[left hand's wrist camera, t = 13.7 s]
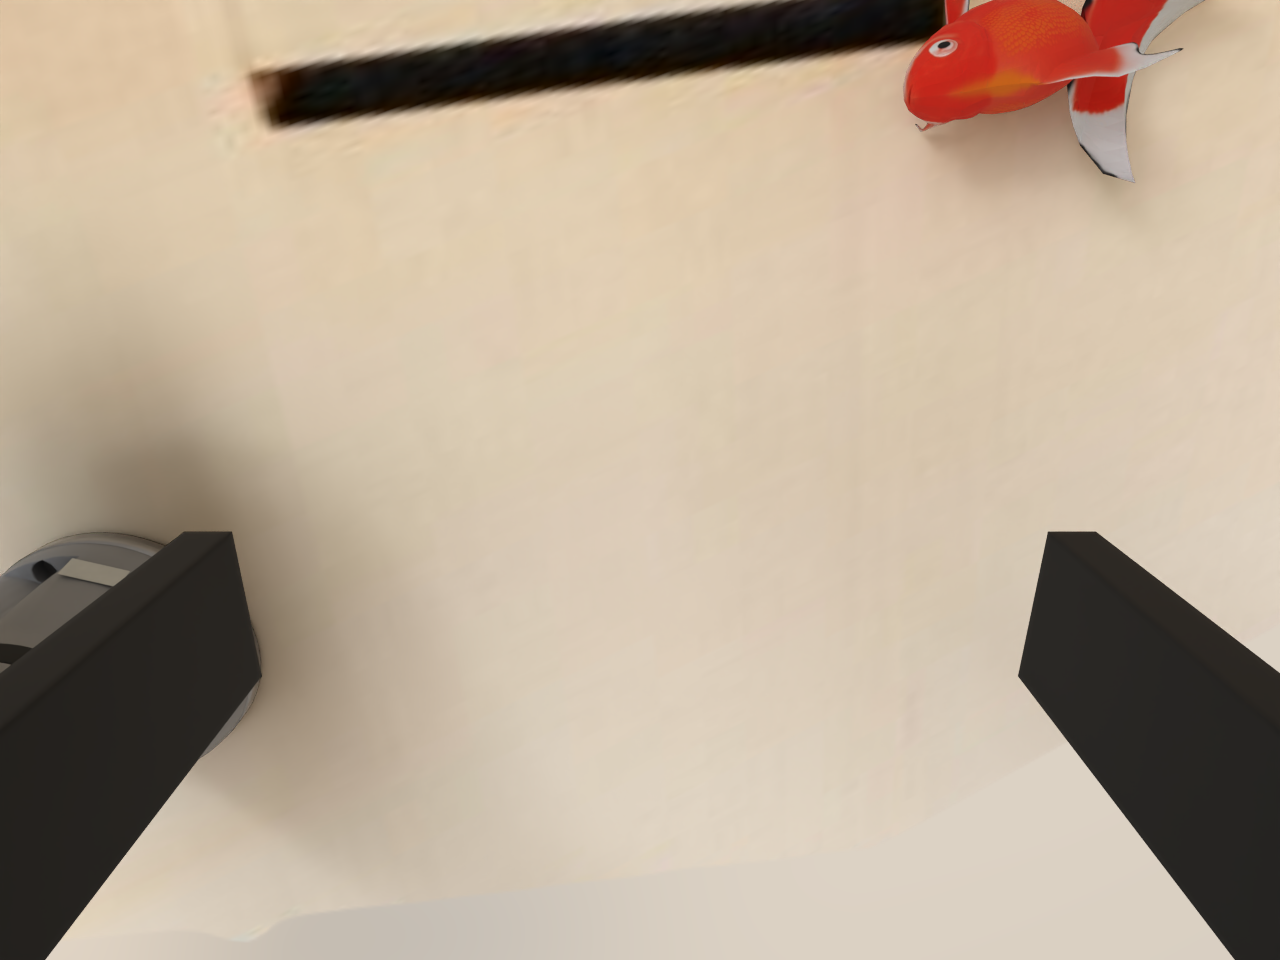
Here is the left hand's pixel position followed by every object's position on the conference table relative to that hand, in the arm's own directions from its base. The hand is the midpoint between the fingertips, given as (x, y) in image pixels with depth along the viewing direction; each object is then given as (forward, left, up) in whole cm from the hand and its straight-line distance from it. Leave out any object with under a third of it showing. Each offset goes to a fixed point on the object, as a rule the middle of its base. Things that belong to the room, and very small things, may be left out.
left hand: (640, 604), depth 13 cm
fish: (+20, -9, -29) cm, 36 cm away
